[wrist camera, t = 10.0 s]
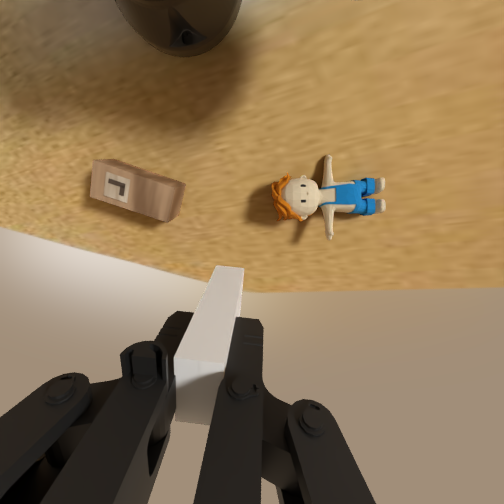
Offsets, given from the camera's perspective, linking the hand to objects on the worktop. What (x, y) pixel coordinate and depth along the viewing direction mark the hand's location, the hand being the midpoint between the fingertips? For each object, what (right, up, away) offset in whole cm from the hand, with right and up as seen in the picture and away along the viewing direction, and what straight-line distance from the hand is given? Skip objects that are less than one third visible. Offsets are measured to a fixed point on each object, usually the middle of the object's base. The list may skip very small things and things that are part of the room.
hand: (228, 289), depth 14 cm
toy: (+12, +11, +24) cm, 29 cm away
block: (-10, +9, +23) cm, 27 cm away
